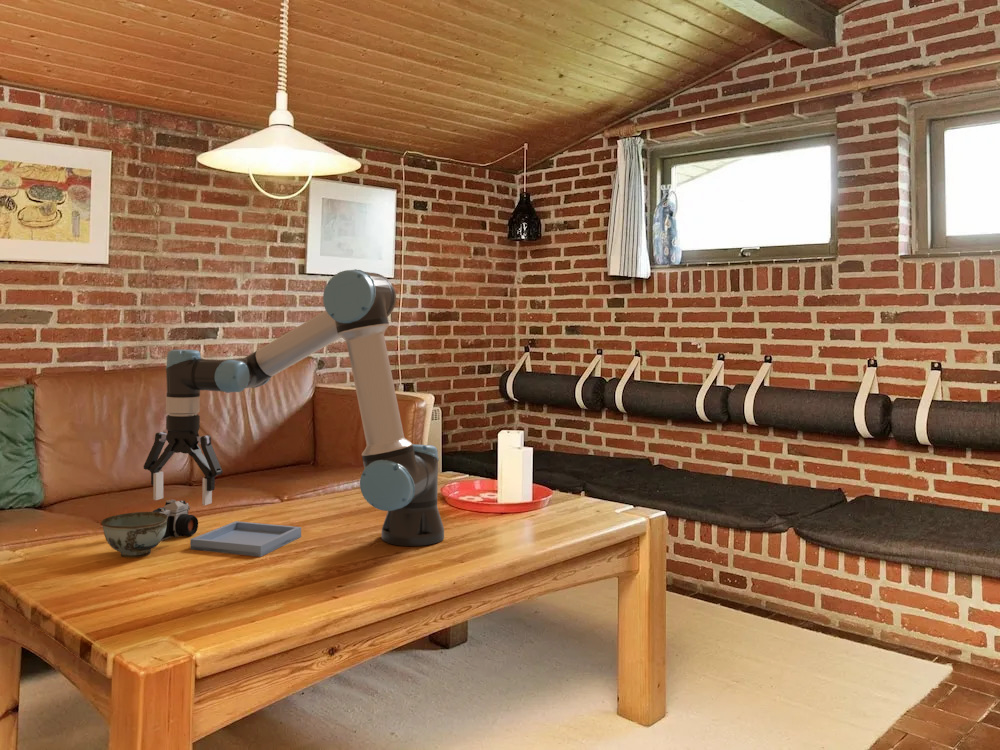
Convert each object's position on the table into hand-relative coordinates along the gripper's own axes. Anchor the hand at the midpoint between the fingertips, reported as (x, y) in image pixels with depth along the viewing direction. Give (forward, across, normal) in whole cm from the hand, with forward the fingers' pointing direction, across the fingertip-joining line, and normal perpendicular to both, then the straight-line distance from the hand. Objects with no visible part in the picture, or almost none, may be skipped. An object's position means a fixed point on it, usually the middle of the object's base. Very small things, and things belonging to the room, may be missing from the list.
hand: (182, 501), depth 199 cm
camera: (+9, +1, 0) cm, 9 cm away
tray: (+8, -18, +1) cm, 20 cm away
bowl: (+8, 0, +17) cm, 19 cm away
